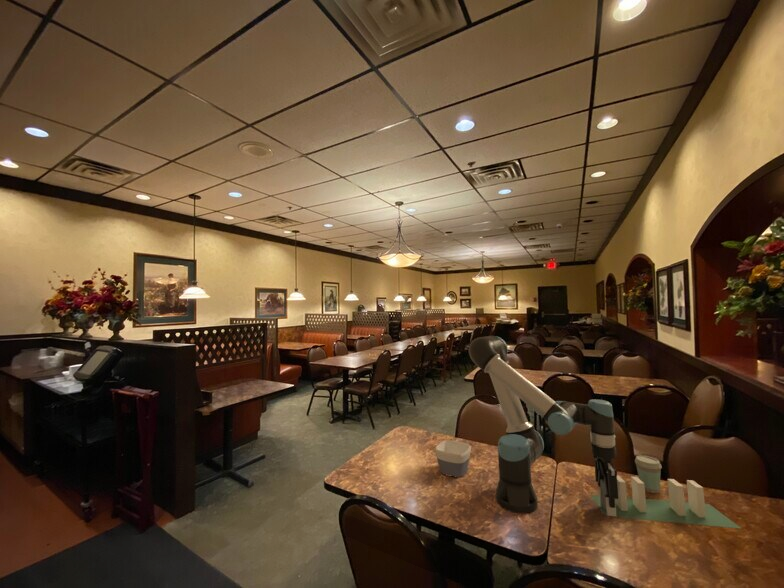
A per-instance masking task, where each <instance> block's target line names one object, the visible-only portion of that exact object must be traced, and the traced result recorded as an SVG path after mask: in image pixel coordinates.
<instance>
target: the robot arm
mask: <svg viewBox="0 0 784 588" xmlns="http://www.w3.org/2000/svg"><path fill="white" fill-rule="evenodd" d="M508 351H509V348H508V344H507V343H506V341H505V340H504V339H502V337H500V336H497V335H496V336H495V335H488V336H487V335H486V336H480V337H476V338H474V339H473V340H471V342H470V344H469V346H468V355H469V358H470V359H471V361H472V362H473V363H474V364H475V365H476V366H477V367H478V368H479V369H480V370H481V371H483V373H485V374H487V373H488V374H489V377H490V379H491V382H492V386H493V388H494V392H495V394H496V396H497V399H498V402H499V405H500V407H501V411H502V414H503V416H504V420H505V421H506V424H507V428H506V430H505V433H506V434H505V435H502V436H500V438H499V439H498V441H497V456H498V472H499V474H498V475H499V476H498V478H499V480H498V483H497V485H496V489H495V501H496V503H497V504H498V505H499V506H500V507H501V508H503V509H505V510H507V511H510V512H513V513H517V514H529V513H533V512H534V511H537V508H538V496H537V495H536V492H535V489H534V486H533V483H532V471H531V470H532V469H531V467H532V465H534V463H535V462H536V461H537V460H538V459H539V458H540V457H541V456H542V454H543V451H544V448H545V443H544V439H543V436H541V434H540V432H539V431H536V429H535V426H534V425H533V423H531V422H530V421H528V418H527V415H526V412H525V411H524V406H523V405H522V403H521V402H524V404H526V405H527V406H529V407H530V408H531V409H532V410H533V411H534V412H535V413H536V414H538V416H539V415H540V417H541V418H542V419H544V420H545V421H546V422H547V425H548V427H549V429H550V430H551V431H552V432H553V433H554V434H556V435H559V436H564V435H567V434H569V433H570V432H572V431H574V428H575V427H576V426H577V425H583V426H589V428H590V430H589V431H590V434H589V435H590V443H591V444H590V445H591V446H590V447H591V453H592V455H593V462H594V475H595V478H594V479H595V482H597V486H598V495H599V499H600V506H602V501H601V487H600V479H604V481H605V487H606V493H607V495H605V497H606V509H607V515H608V516H616V503H615V499H618V486H617V475H618V471H617V469H615V468H614V463H613V462H612V460H613V459H616V458H617V449H616V438H617V436H616V435H615V420H614V419H615V418H614V415H615V414H614V411H613V405H612V403H611V402H609V401H607V400H604V399H596V398H595V399H589V400H588V403H586V404H585V403H578V402H573V401H572V402H571V401H566V400H556V401H555V400H554V399H553V398H551V397H550V396H549V395H547V393H546V392H543V391H542V390H541V389H540V388H539V387H537V386H536V385H535V384H533V383H532V382H531V381H529V379H527V378H526V377H525V376H524V375H522V374H521V373H520V372H518V371H517V370H516V369H514V368H513V366H511V365H510V364H509V363H510V360H509V357H508ZM608 516H607V517H608Z"/></svg>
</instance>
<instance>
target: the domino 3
mask: <svg viewBox="0 0 784 588" xmlns="http://www.w3.org/2000/svg"><path fill="white" fill-rule="evenodd" d="M667 487H668V488H667V489H668V501H670V508H671V509H673V510H674V511H675V512H676V513H677V514H678V515H679V516H686V512H685V502H686V501H685V493H684V492H685V490H684V486H683V485H682V484H681V483H680V482H679V481H677V480H676V479H674V478H667Z"/></svg>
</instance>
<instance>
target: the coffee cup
mask: <svg viewBox="0 0 784 588" xmlns="http://www.w3.org/2000/svg"><path fill="white" fill-rule="evenodd" d="M634 463H635V467H636V470H637V475H638V476H637V477H638V478H639V479H640V480H641V481H642V482H643V483H644V485H645V492H647V493H652V494H658V493H660V492H661V491H660V490H661V489H660V488H661V487H660V486H661V469H662V468H663V467H662V464H661V461H660V460H659V459H658V458H655V457H652V456H649V455H636V457H635V459H634Z"/></svg>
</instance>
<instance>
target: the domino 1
mask: <svg viewBox="0 0 784 588" xmlns="http://www.w3.org/2000/svg"><path fill="white" fill-rule="evenodd" d="M626 484H627V483H626V481H625V480H624V479H623V478H622V476H620V475H618V474H617V486H618V499H615V503H616V504H617V506H618V507H619V508H620V509H621V510H622V511H628V507H627V496H628V494H627V485H626Z"/></svg>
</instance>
